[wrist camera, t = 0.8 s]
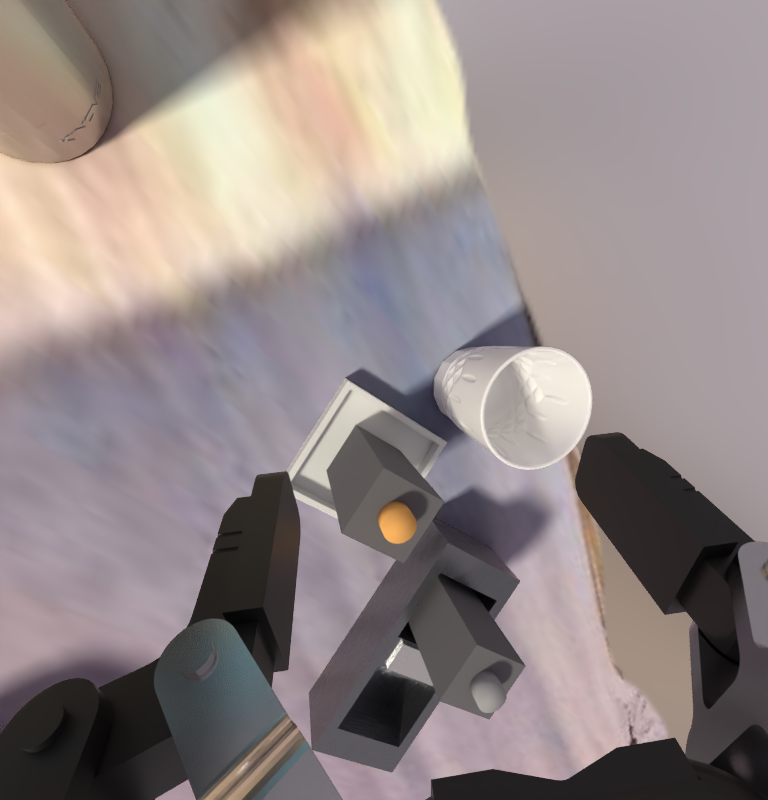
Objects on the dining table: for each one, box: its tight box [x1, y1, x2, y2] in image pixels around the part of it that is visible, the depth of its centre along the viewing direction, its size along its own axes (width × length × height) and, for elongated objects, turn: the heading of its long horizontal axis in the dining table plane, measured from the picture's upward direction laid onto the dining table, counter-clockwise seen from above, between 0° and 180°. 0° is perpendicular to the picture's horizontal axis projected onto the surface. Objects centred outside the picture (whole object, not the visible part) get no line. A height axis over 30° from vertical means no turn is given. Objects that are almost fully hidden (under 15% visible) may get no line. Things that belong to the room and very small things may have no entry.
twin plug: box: [408, 573, 525, 719], centre depth 30 cm, size 4×4×11 cm
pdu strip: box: [309, 518, 520, 772], centre depth 34 cm, size 8×20×5 cm, turn 146°
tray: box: [286, 378, 447, 519], centre depth 32 cm, size 10×10×2 cm
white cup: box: [434, 346, 592, 470], centre depth 29 cm, size 8×8×10 cm
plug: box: [326, 425, 444, 563], centre depth 27 cm, size 4×4×11 cm
